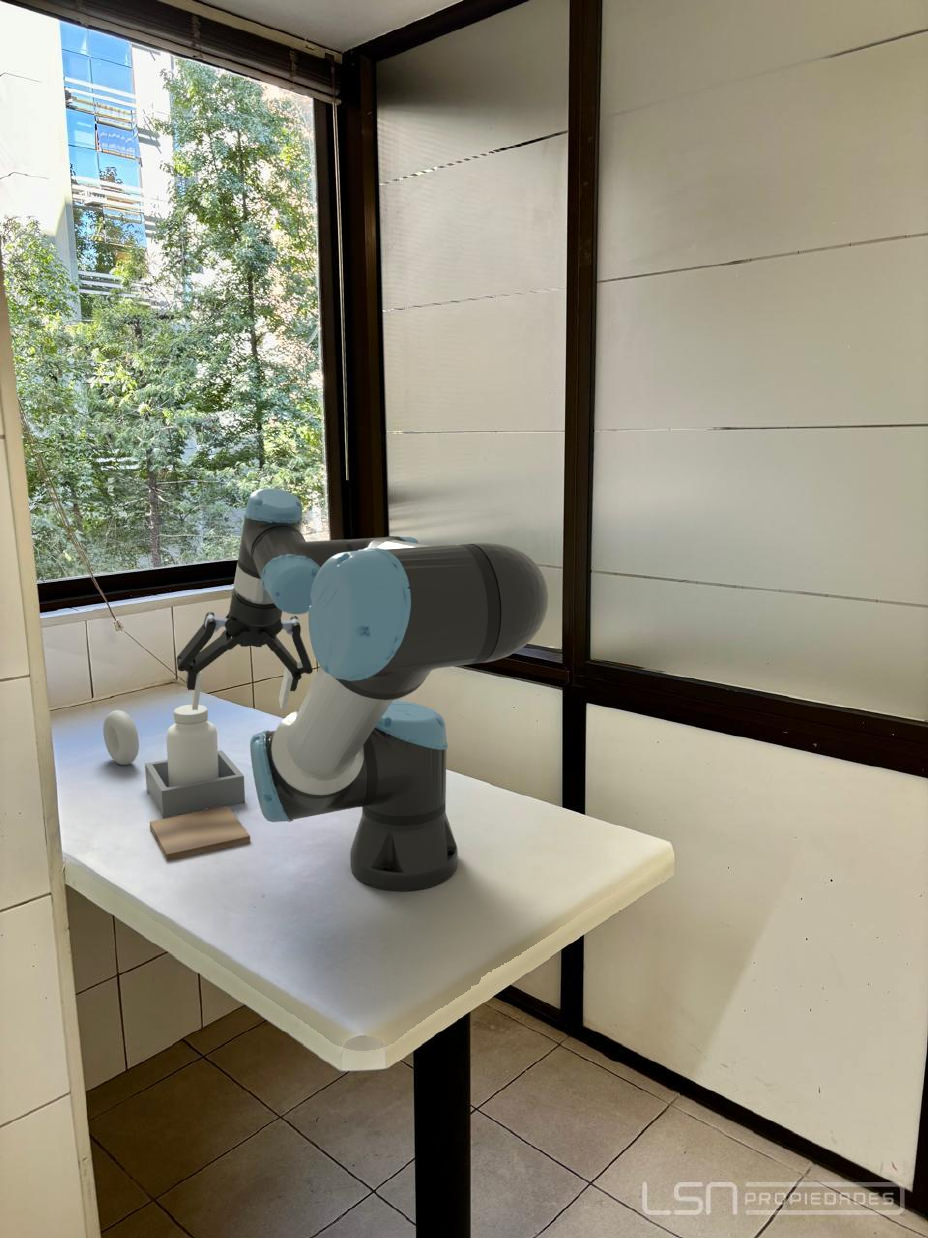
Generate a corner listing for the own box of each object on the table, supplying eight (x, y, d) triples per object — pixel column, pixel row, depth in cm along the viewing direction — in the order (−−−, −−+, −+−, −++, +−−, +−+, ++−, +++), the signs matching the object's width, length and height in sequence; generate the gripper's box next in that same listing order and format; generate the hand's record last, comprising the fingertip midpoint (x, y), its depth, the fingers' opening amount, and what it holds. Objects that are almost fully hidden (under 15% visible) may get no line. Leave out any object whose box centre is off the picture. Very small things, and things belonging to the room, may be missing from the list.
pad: (250, 842, 134) (250, 836, 134) (167, 860, 128) (166, 854, 128) (228, 811, 144) (227, 805, 144) (150, 827, 139) (149, 821, 138)
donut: (102, 758, 166) (98, 706, 164) (120, 753, 168) (116, 702, 166) (125, 774, 159) (121, 720, 157) (144, 769, 161) (140, 715, 159)
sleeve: (245, 801, 148) (243, 775, 147) (163, 818, 142) (161, 791, 141) (223, 774, 159) (222, 750, 158) (146, 788, 153) (144, 763, 152)
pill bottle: (212, 805, 147) (207, 717, 143) (162, 804, 147) (156, 716, 144) (225, 786, 154) (221, 701, 151) (178, 785, 155) (173, 701, 151)
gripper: (337, 582, 139) (312, 690, 150) (168, 571, 129) (154, 688, 140) (348, 610, 134) (321, 720, 144) (171, 600, 124) (156, 720, 134)
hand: (239, 704), depth 142 cm, fingers open, 13 cm apart
